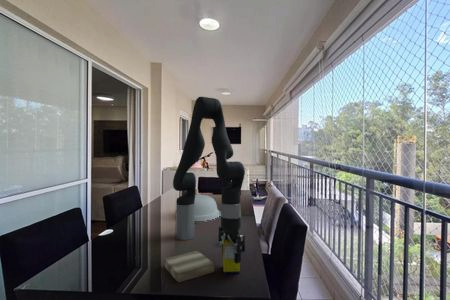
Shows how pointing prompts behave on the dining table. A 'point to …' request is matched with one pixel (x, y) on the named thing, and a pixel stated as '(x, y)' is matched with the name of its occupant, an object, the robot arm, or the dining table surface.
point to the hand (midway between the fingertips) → (231, 258)
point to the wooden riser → (188, 266)
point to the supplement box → (229, 258)
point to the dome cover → (205, 208)
